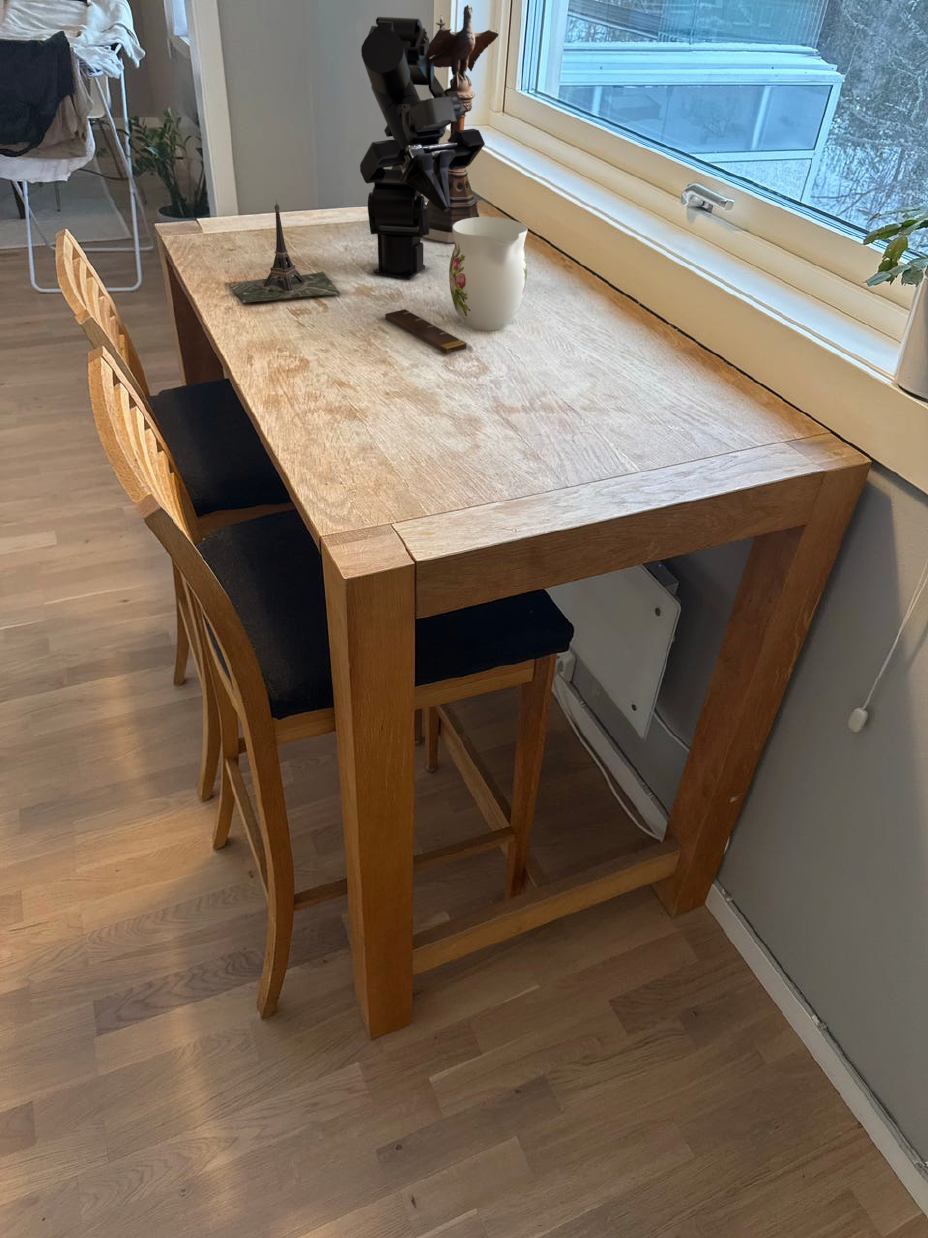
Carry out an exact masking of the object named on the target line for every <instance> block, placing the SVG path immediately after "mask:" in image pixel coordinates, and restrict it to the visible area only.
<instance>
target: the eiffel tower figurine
mask: <svg viewBox="0 0 928 1238" xmlns="http://www.w3.org/2000/svg"><path fill="white" fill-rule="evenodd" d="M273 209H274V211H275V237H276V239H275V241H276V243H275V244H276V245H275V251H274V254H275V255H274V259H273V264H272V266H270V271H269V274H268V276H267V277H266V278H260V279H255V280H249V281H243V282H236V283H231V284H229V286H230V287H231V289H232V291H233V292H234V293H235V294H236V295H237V297H239V299H240V300H241V301H242V303H244V304H245V303H252V302H264V301H265V302H266V301H276V300H284V299H290V298H291V299H292V298H300V297H311V296H329V295H331V296H332V295H341V292H340V291H339V290H338V288H337V287H336V286H335V284H334V283H333V282H332V281H331V280H330V279H329V277H328V276H327V275H326V273H325V272H324V271H318V272H313V273H307V274H301V273H300V272H299V271H298V270H297V268H296V265H294V264H293V262H292V260H291V258H290V256H289V250H287V247H286V241H285V238H284V233H283V226H282V220H281V214H280V209H281V208H280V205H279V204H278V201H277V199H275V205H274V208H273Z"/></svg>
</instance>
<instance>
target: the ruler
mask: <svg viewBox="0 0 928 1238" xmlns="http://www.w3.org/2000/svg"><path fill="white" fill-rule="evenodd" d="M384 318H385V320H386V321H388V322H389V323H391V324H393V325H395V326H397V327H398V328H400V329H401V330H403V331H405V332H407V333H408V334H411V336H414V337H415V338H417V339H419V340H421V341H422V342H424V343H426V344H428V345H430V346H431V347H433V348H435V349H436V350H438V351H439V352H442V353H443V354H446V355H448V354H452V353H455V352H459V351H462V350H465V349H467V342H466V341H464V340H463V339H460V338H458V337H456V336H454V335H452V334H451V333H449V332H447V331H445V330H444V329H442V328H440V327H438V326H436V325H434V324H433V323H431V322H429V321H427V320H426V319H423V318H422V317H420V316H418V315H416V314H414V313H413V312H410V311H409V310H407V309H405V308H403V309H400V310H396V311H392V312H388V313H385V314H384Z"/></svg>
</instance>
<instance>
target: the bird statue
mask: <svg viewBox="0 0 928 1238" xmlns="http://www.w3.org/2000/svg"><path fill="white" fill-rule="evenodd" d="M462 21H463V22H462V28H461V29H460V30H459V31H452V27H450V26H445V25H446V22H444V17H443V15H442V14H440V15H439V22H435V25H437V26H439V29H438V31H436V34H435V35H434V37H433V39H432V40H431V41H429V48H428V50H427V54H426V55H427V56H428V57H429V58H430V59H433V61H434V68H438V69H441V68H450V71H451V74H452V78H451V79H450V80H449V86H450V87H448V88H446V89H444V94H445V95H446V93H447V92H453V91H457V93H458V95H459V97H460V99H461V101H462V104H463V109H464V112H463V115H462V116H460V117H458V118H457V122H456V123H454V124H453V123H451V124H450V128H449V130H450V131H449V132H450V136H449V138H447V140H446V141H447V142H448V141H449V140H450V138H451V137H452V135H453V134H454V132H455V131H459V130H465V119H466V117H467V114H466V113H469V112H471V111H472V109H473V100H474V98H475V96H476V94H475V93H474V91H472V85H473V84H472V80H471V79H470V77H469V76H468V75H467V74H466V72H467V71H468V69H469V71H470V72H473V69H474V67H475V65H476V62H477V61H478V59H479V58H480V56H481V54H482V53H484V51H485V50H486V49H487V48H488V47H489V46H490V45H491V44H492V43H493V42H494V41H495V40H496V39H497V38H498V37H499V32H498V30H497V29H493V28H490V29H487V30H485V31H483V32H475V31H474V28H473V27H474V26H473V7H472V6H470V5H469V4H467V5H466V6H464V7H463V19H462ZM468 174H469V171H468V170H467V167H466V168H462V169H455V170H450V169H449V168H448V185H449V197H450V209H449V210H448V211H445V212H443V211H441V210H440V209H439V208H438V207H437V206H435V205H434V204H433V203H432V202H431V201H429V200H428V201H427V202H426V203H425V204H426V205H427V207H428V215H429V235H424V236H423V238H426V239H430V240H436V241H440V242H445V243H455V242H454V235H453V229H452V226H453V224H454V223H456V222H458V221H460V220H463V219H467V218H474V217H480V214H479V211H478V205H477V204H478V200H477V199H476V198H475V196H476V195H475V193H473V190H472V187H471V184H470V181H469V177H468Z"/></svg>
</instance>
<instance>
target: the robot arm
mask: <svg viewBox="0 0 928 1238" xmlns="http://www.w3.org/2000/svg"><path fill="white" fill-rule="evenodd" d="M375 24H376V25H371V26H370V29H369V31H368V35H367V36H366V38H365V39H364V41H363V43H362V44H361V49H360V50H361V51H360V53H361V58H362V62H363V64H364V67H365V70H366V73H367V76H368V79H369V82H370V85H371V86H370V87H371V91H372V93H373V95H374V97H375V100H376V102H377V104H378V106H379V109H380V112H381V113H382V115H383V118H384V120H385V122H386V127H385V128H384V134H385V135H386V138H389V137H392V138H393V139H386V140H378V141H371V144H370V145H369V147H368V149H367V150H366V152H365V154H364V156H363V158H362V159H361V162H360V164H359V173H360V174H361V176H362V179H363V181H364V183H365V184H374V185H373V188H372V191H370V192H369V193H368V195H367V196H368V197H367V214H368V223H369V231H370V235H377V261H378V263H377V264H378V265H377V266H378V267H376V268H374V269H373V274H375V275H380V276H387V277H391V278H397V279H402V280H411V279H412V278H413V277H415V276H416V275H418V274H419V273H421V272H422V271H424V270H425V269H426V264H424V243H423V242H422V241H421V240H422V238H424V235H429V215H428V207H427V205H426V204H427V203H426V201H425V198H426V199H427V200H428V201H431V202H432V203H433V204H434V205H435V206H437V207H438V208H439V209H440V210H441V211H443V212H445V211H448V210H449V209H450V197H449V185H448V168H449V169H450V170H455V169H462V168H466V169H467V167H470V165H471V164H472V162H473V161H474V160H475V159H476V157H477V156H478V155H479V153H480V151H481V150H482V149H483V148H484V146H485V145H486V143H485V140H484V138H483V136H482V134H481V131H480V130H479V129H476V128H468V129H464V130H459V131H455V132H454V134H453V135H452V137H451V138H450V137H449V138H450V140H449V141H447V142H442V143H440V141H441V139H442V138H443V137H444V135H445V134H446V129H447V126H450V125H451V123H453V124H454V123H456V122H457V118H458V117H460V116H462V115H463V112H464V109H463V104H462V101H461V99H460V97H459V95H458V93H457V91H453V92H447V93H446V95H445V94H444V91H445V89H444V88H443V86H442V84H441V83H440V81H439V79H438V78H437V77H436V75H435V66H434V61H433V59H430V58H429V57H428V56H427V55H426V54H427V50H428V48H429V44H430V38H429V37H428V31H426V28H424V27H423V24H422V21H421V20H420V18H415V17H414V18H413V17H412V18H411V17H392V16H377V17H376V18H375ZM415 86H428V91H429V93H430V95H431V96H432V97H431V98H427V99H421V98H420V96H419V94H418V91H417V89H416V87H415Z"/></svg>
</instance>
